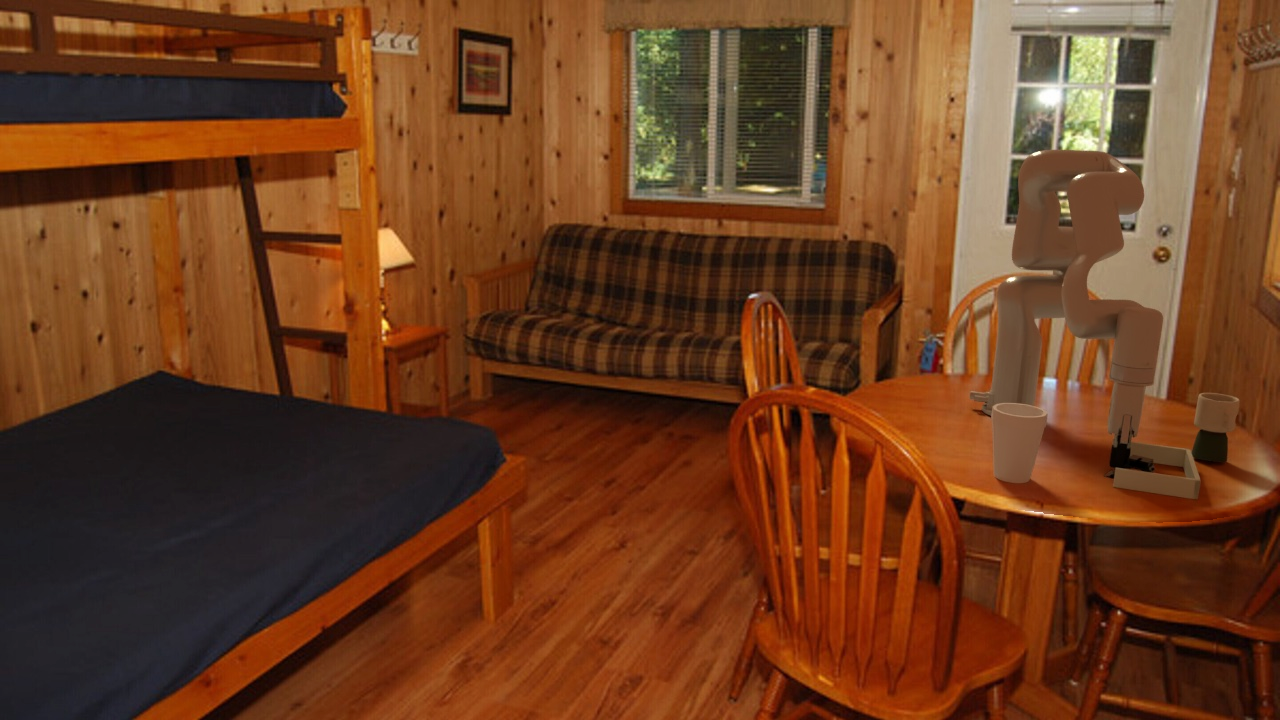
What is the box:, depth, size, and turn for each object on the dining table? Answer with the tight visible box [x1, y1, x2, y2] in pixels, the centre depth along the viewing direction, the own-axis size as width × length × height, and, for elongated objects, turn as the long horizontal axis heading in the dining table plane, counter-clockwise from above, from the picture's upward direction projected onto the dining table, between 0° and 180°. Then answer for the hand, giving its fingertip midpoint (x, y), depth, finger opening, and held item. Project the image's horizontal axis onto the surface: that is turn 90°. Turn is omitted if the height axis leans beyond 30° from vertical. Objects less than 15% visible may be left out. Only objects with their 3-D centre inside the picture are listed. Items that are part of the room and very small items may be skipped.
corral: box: [1111, 438, 1202, 500], centre depth 186 cm, size 14×20×4 cm
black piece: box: [1103, 455, 1156, 480], centre depth 185 cm, size 12×7×5 cm, turn 47°
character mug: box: [1191, 392, 1241, 464], centre depth 195 cm, size 11×7×13 cm, turn 178°
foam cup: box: [990, 403, 1049, 484], centre depth 183 cm, size 10×9×13 cm
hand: (1118, 467), depth 189 cm, fingers closed
